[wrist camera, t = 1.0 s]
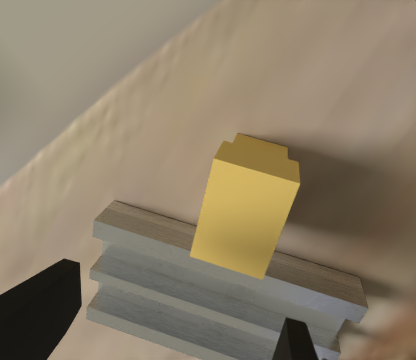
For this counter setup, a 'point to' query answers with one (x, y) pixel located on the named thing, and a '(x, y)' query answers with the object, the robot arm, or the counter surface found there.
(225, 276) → the rail
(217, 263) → the yellow block with ridge
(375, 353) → the counter surface
